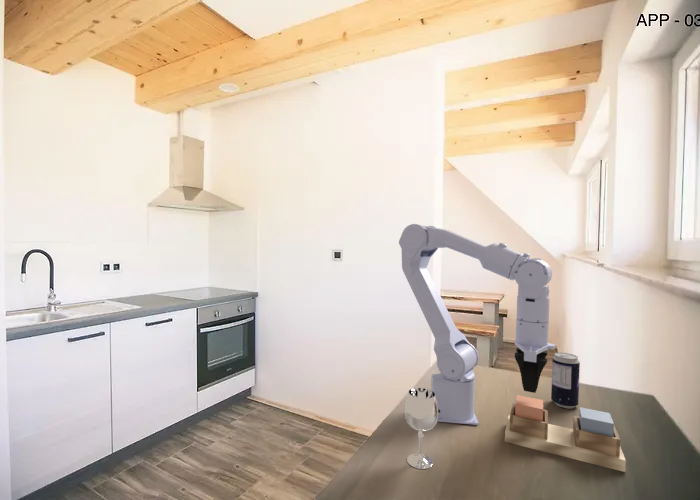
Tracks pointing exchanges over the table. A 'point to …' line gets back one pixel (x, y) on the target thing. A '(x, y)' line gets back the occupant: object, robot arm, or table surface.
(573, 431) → the wooden socket board
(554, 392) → the beverage can
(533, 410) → the terracotta key
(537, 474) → the table surface
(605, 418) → the slate key
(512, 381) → the table surface
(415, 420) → the wineglass
